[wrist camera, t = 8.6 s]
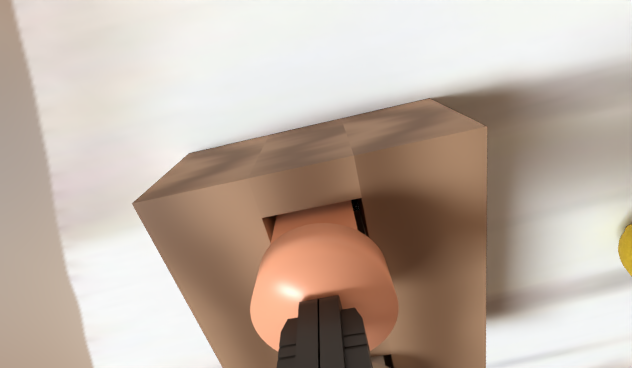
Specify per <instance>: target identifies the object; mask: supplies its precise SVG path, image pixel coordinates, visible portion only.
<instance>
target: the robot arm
mask: <svg viewBox="0 0 632 368" xmlns="http://www.w3.org/2000/svg"><path fill="white" fill-rule="evenodd" d="M277 368H373V366H372V360H371V355H370V349H369V344H368V340H367V335H366V331H365V327H364V322H363V318H362V317H361V315H360V314H359V313H358V311H357V310H356V308H355V307H354V308H349V309H342V305H341V301H340V297H339V295H335V296H329V297H323V298H320V299H312V300H307V301H301V302H299V307H298V317H297V318H291V319H287V321H286V323H285V325H284V327H283V329H282V331H281V334H280V342H279V351H278V361H277Z"/></svg>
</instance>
